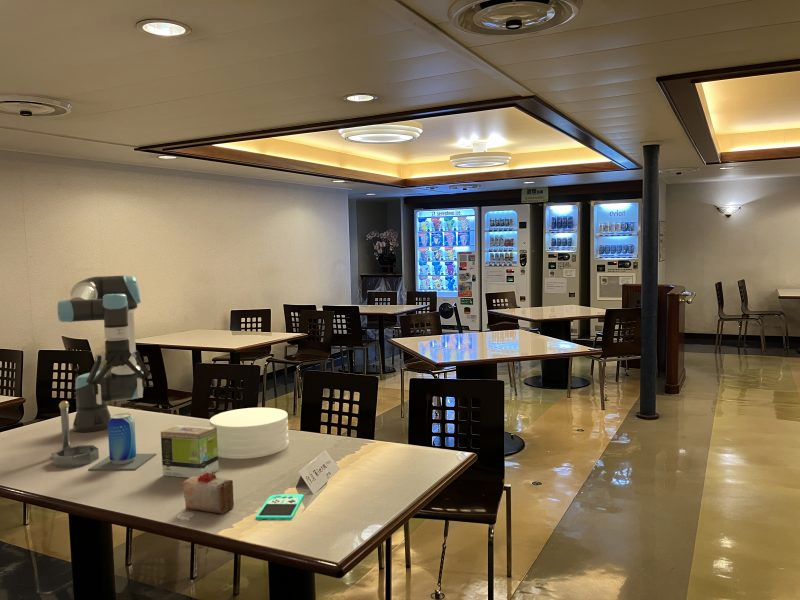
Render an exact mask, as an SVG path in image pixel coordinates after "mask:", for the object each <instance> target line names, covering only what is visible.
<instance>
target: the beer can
mask: <svg viewBox="0 0 800 600" xmlns="http://www.w3.org/2000/svg"><path fill="white" fill-rule="evenodd" d="M110 418H111V419H110V420H109V422H108V428H107V432H108V433H107V434H108V435H107V437H108V453H109V455H108V456H110V460H111V461H112V463H113V464H125V463H129V462H132V461H133V460H134V458H135V457H136V454H137V445H136V441H137V440H136V428H135V427H136V426H135V419H134V418H133V416H132V414H131V413H129V412H124V413H115V414H113V415H112V414H111V417H110Z"/></svg>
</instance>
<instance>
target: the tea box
mask: <svg viewBox="0 0 800 600" xmlns="http://www.w3.org/2000/svg"><path fill="white" fill-rule="evenodd" d="M160 445H161V447H160V448H161V463H162V464H161V465H162V466H161V467H162V475H163V476H168V477H169V476H170V477H177V478H187V479H188V478H190V477H194V476H197V477H200V476H202V475H203V474H205V473H207V472H208V473H209V474H210V473H212V472H213V474H214V473H215V472H217V471H219V456H218V445H217V427H214V426H211V425H195V424H194V425H193V424H181V423H180V424H178V425H175V426H172V427H170V428H166V429H164V430H162V431H160Z"/></svg>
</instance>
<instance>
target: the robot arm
mask: <svg viewBox="0 0 800 600" xmlns="http://www.w3.org/2000/svg"><path fill="white" fill-rule="evenodd" d="M141 302H142V301H141V294H140V289H139V284H138V280H137V278H136V277H135V275H134V276H133V275H107V276H106V275H103V276H92V277H89V278H85V279H83V280H80V281H79V282H77V283H75V284H74V285H73V286H72V288H71V291H70V298H69V299H65V300H59V301H58V302H57V317H58V320H59V321H60V322H61V323H72V322H88V321H89V322H90V321H91V322H92V321H103V324H104V328H103V329H104V339H105V341H104V347H105V348H104V349H105V351H104V352H105V354H104V355H100V354H96V355H95V358H94V359H95V360H94V364H93V366H92V368H91V369H90V372H87V373H83V374H81V375H78V376H77V377H76V378H75V382H74V383H75V387H74V389H75V403H76V414H75V417H74V419H73V423H72V430H73V431H74V432H77V433H89V432H98V431H102V430H106V429H107V430H108V422H109V420H110V419H111V418H110V417H111V416H112V414H111V413H110V410H109V407H108V402H117V401H127V400H135V399H136V400H137V399H140V398H143V397H144V395H143V394H144V388H145V386H146V382H145V381H146V378H147V377H150V376H151V373H150V371H149V370H148V367H147V366H146V364H145V363H144V361H143V360H142V357H141V355H140V351H139V350H137V348H136V347H137V346H136V330H135V328H136V327H135V310H136V309H138V305H139V304H140V303H141ZM104 360H105V361H106V363H105V364H104V366H103V367H102V369H101V370H99V369H100V367H101V365H102V364H101V363H103V361H104ZM112 367H113V368H112ZM110 369H111V370H110ZM108 371H110V373H108Z"/></svg>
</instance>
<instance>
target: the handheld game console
mask: <svg viewBox="0 0 800 600" xmlns="http://www.w3.org/2000/svg"><path fill="white" fill-rule="evenodd" d="M304 498H305V494H303V493H297V494H296V493H294V494H293V493H283V494H282V493H281V494H278V493H277V494H273V495H270V496H268V498H267V500H266V501H265V502H264V503H263V506H261V508H260V509H259V510H258V512H257V514H256V515H255V520H259V521H260V520H265V521H267V520H268V521H269V520H270V521H271V520H272V521H273V520H275V521H276V520H278V521H279V520H290V521H291V520H293V518H294V516H295V514H296V512H297V511H298V509H299V507H300V504H301V503H302V501H303V499H304Z"/></svg>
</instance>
